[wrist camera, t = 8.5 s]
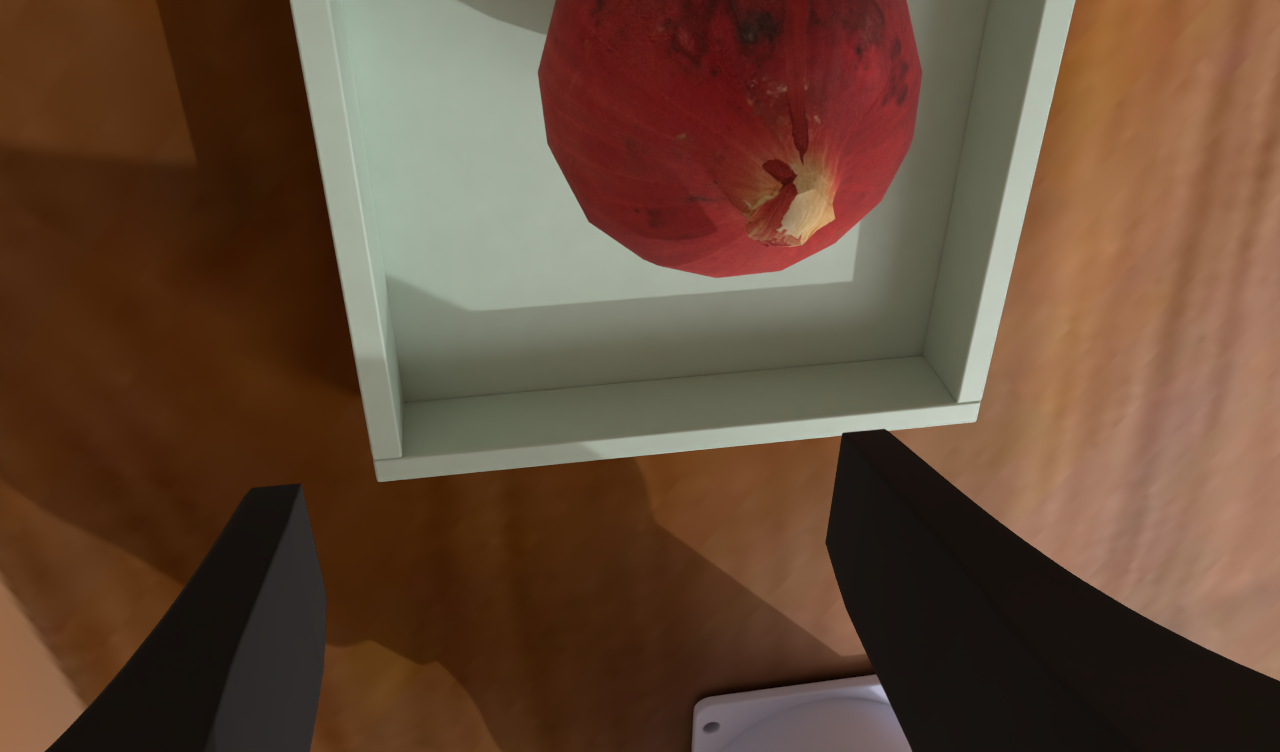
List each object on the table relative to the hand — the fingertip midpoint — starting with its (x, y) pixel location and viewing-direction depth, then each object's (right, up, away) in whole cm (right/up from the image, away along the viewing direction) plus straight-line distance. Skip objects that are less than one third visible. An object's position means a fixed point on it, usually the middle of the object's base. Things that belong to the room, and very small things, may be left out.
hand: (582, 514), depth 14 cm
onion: (+1, +9, +5) cm, 10 cm away
